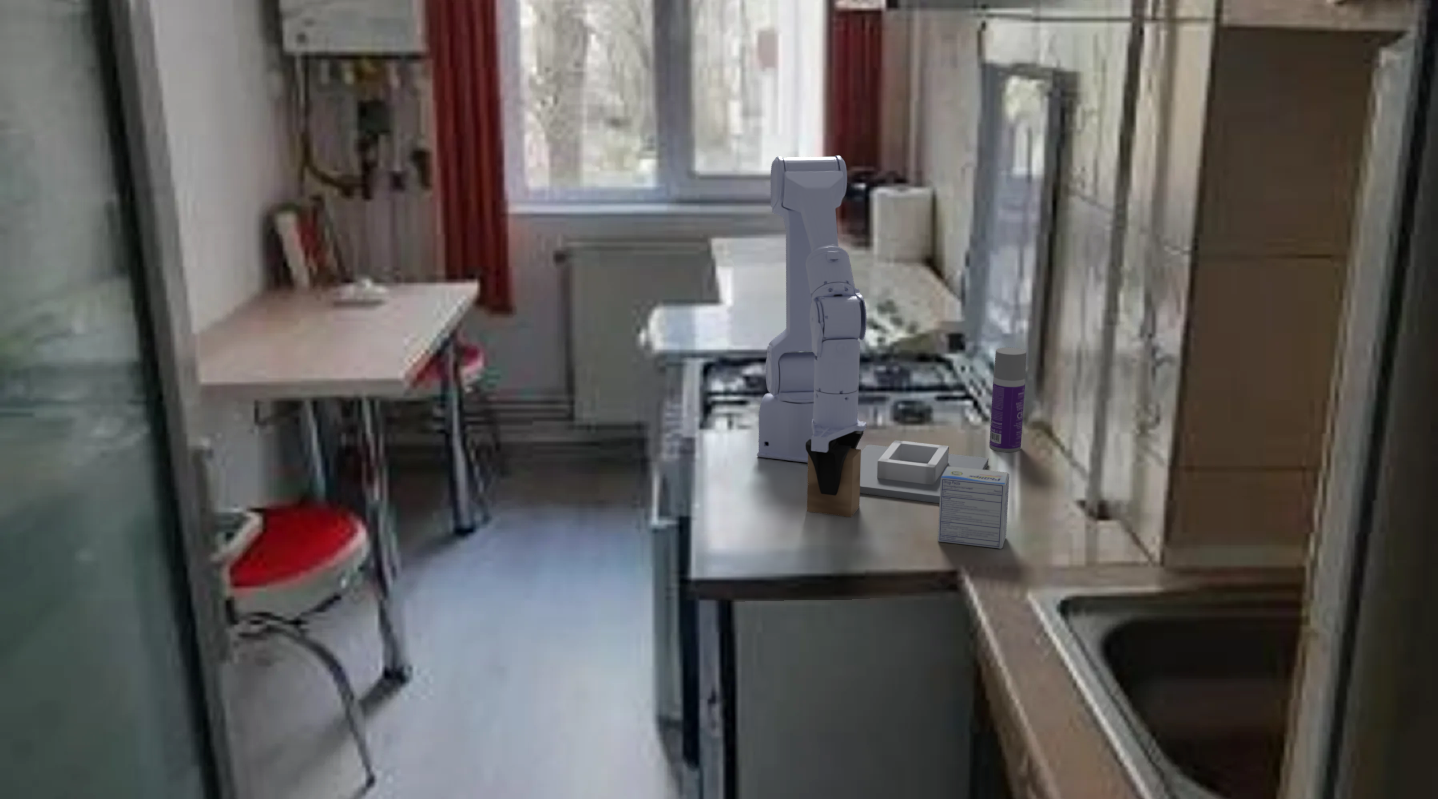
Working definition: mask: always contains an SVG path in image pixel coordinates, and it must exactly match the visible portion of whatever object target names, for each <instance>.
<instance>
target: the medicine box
mask: <svg viewBox="0 0 1438 799" xmlns="http://www.w3.org/2000/svg"><path fill="white" fill-rule="evenodd" d="M1009 488H1010V473H1009V472H1007V471H1000V470H999V471H998V470H989V469H985V470H982V469H971V468H960V467H947V468H946V470H945V471H944V473H943V475H942V476H941V478H940V503H939V507H938V508H939V509H938V530H937V541H938V542H939V543H940V542H941V543H948V544H950V543H951V544H957V545H959V544H960V545H965V546H966V545H968V546H975V547H985V548H990V549H991V548H992V549H993V548H994V549H999V550H1000V549H1001V550H1002V549H1003V547H1004V543H1005V540H1006V536H1007V530H1008V529H1007V527H1008V508H1009V506H1008V505H1009Z"/></svg>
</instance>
